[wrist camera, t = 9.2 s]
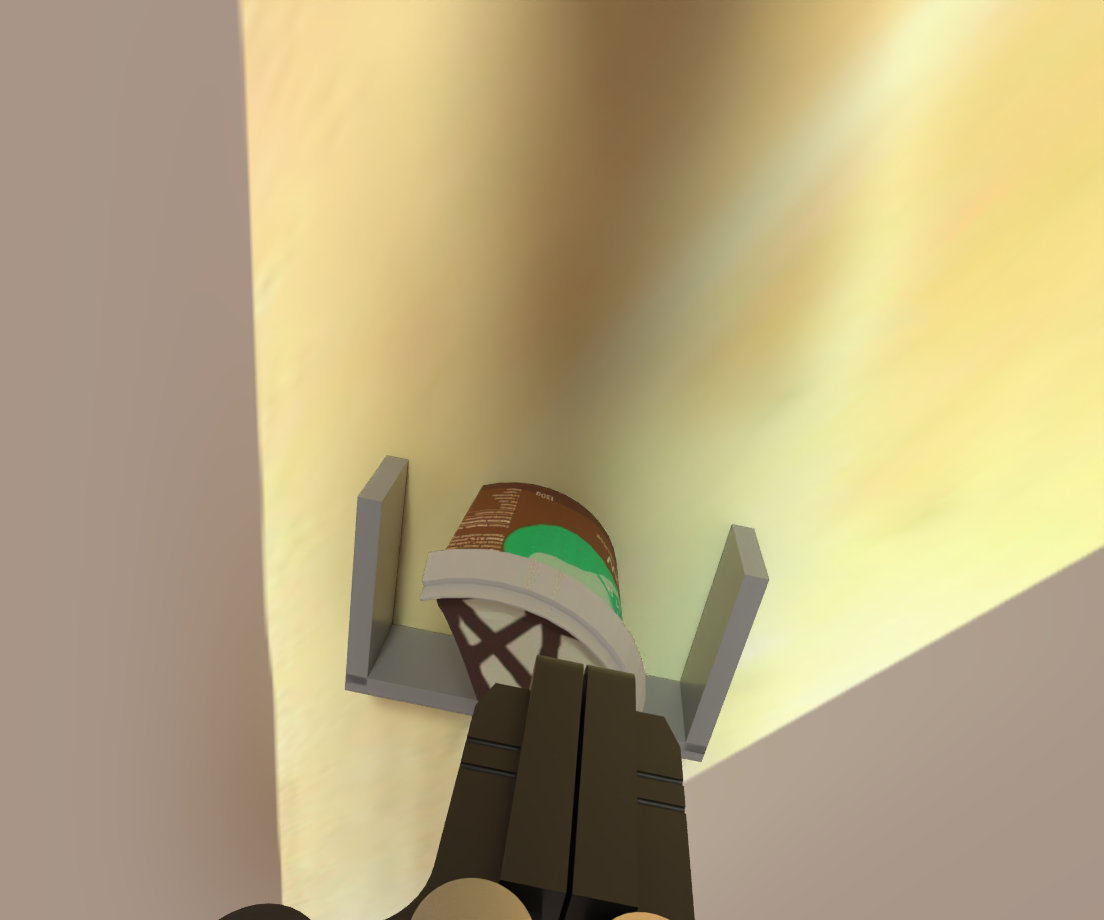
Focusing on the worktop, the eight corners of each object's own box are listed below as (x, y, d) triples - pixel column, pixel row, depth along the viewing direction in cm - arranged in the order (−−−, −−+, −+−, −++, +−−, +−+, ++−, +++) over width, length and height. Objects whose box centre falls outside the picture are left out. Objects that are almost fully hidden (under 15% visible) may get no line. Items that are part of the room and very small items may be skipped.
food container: (668, 646, 37) (681, 821, 28) (550, 667, 38) (526, 840, 29) (604, 425, 32) (594, 549, 23) (471, 457, 33) (413, 585, 24)
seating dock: (386, 455, 33) (357, 496, 30) (753, 528, 33) (769, 579, 30) (371, 635, 38) (345, 689, 34) (694, 700, 38) (701, 762, 34)
